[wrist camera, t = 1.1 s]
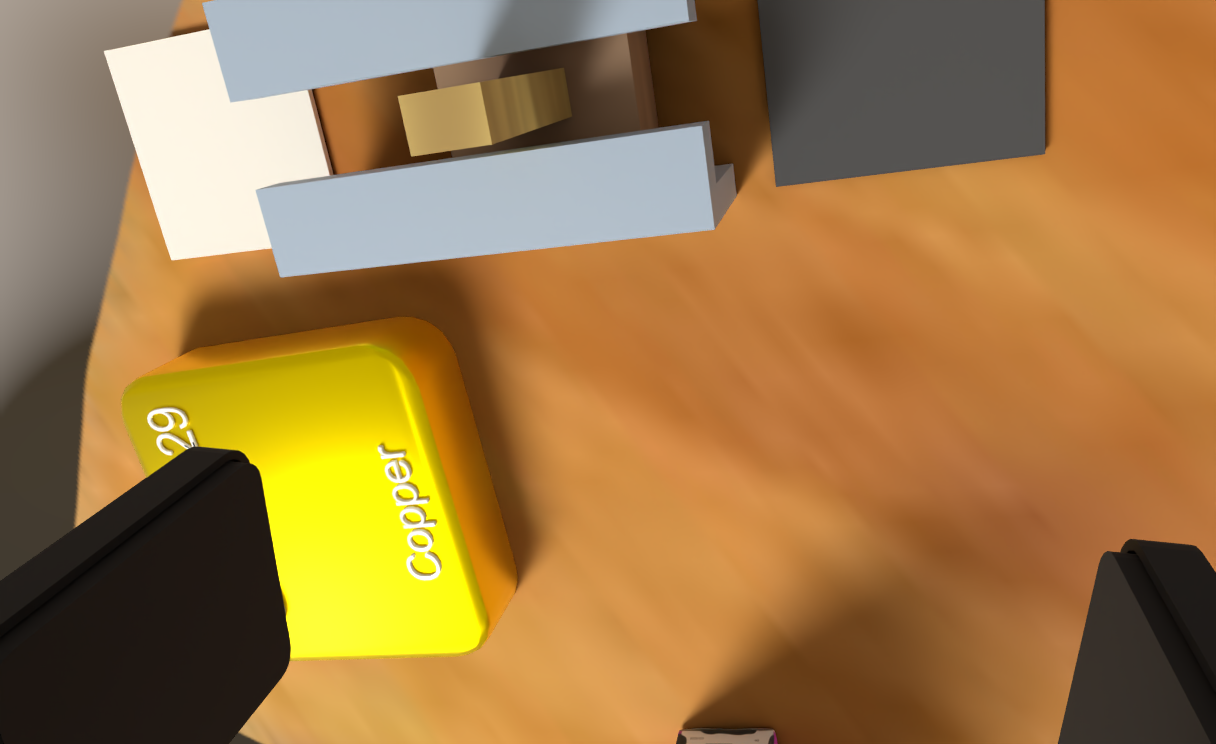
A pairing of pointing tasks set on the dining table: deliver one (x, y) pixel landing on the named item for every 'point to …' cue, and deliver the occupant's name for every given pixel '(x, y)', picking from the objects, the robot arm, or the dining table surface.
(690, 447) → the dining table surface
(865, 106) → the pad
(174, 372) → the element tile
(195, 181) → the tile
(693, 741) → the candy bar box
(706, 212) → the tunnel
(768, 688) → the dining table surface
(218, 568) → the robot arm
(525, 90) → the tan boxy piece
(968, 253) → the dining table surface
